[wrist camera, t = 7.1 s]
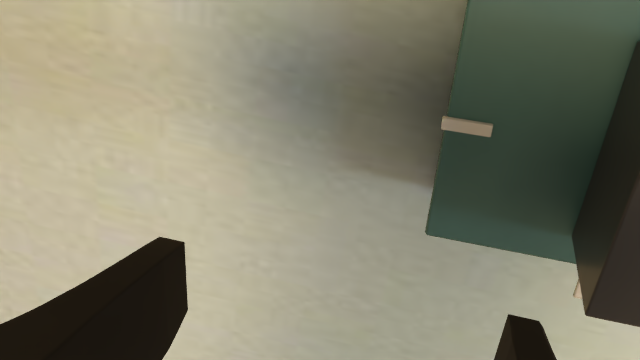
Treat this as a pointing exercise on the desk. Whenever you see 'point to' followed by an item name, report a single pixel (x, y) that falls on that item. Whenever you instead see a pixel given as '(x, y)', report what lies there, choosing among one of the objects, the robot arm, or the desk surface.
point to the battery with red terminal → (614, 215)
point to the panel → (529, 120)
